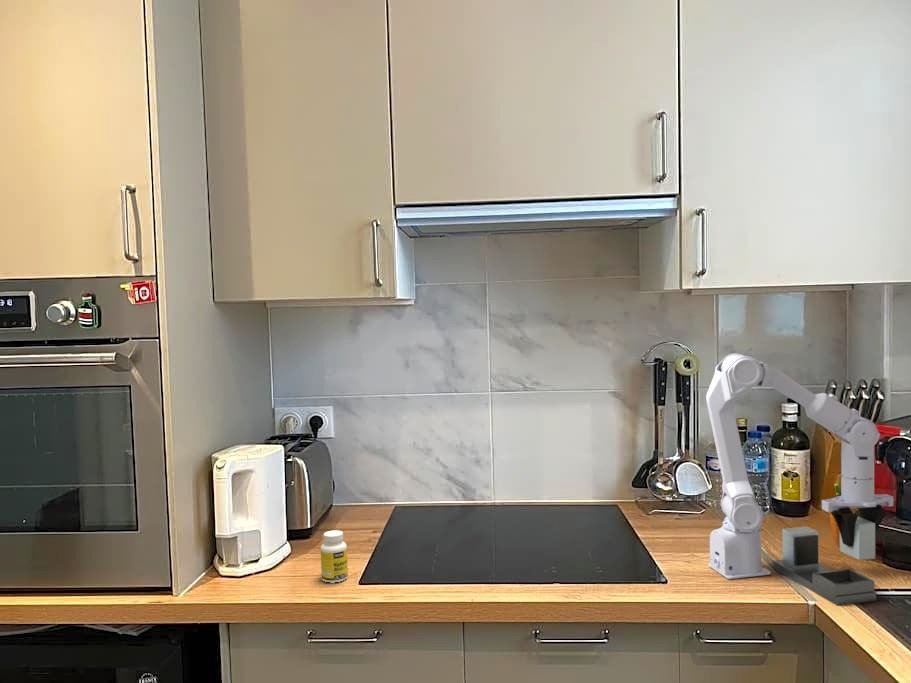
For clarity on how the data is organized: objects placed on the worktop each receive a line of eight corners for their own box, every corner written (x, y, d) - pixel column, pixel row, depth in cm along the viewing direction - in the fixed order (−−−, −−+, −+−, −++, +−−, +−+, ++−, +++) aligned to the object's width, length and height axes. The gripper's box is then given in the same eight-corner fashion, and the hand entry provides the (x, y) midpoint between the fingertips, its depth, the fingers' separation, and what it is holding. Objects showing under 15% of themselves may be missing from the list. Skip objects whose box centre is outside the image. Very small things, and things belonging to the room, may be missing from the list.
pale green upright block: (859, 560, 141) (859, 524, 141) (839, 550, 147) (839, 516, 146) (876, 558, 142) (876, 523, 141) (856, 548, 147) (856, 515, 147)
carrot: (852, 548, 158) (851, 480, 157) (858, 556, 153) (857, 486, 152) (827, 547, 159) (826, 479, 158) (832, 554, 154) (831, 485, 154)
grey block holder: (836, 605, 130) (836, 558, 129) (772, 567, 148) (772, 527, 148) (876, 600, 131) (875, 554, 131) (807, 564, 150) (807, 523, 149)
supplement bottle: (335, 586, 148) (333, 538, 147) (316, 581, 151) (314, 534, 150) (353, 577, 152) (351, 531, 152) (334, 572, 155) (332, 527, 155)
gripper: (838, 484, 138) (839, 553, 139) (905, 478, 141) (905, 547, 141) (814, 475, 145) (814, 542, 146) (878, 470, 148) (878, 535, 148)
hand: (857, 543), depth 144 cm, fingers closed on pale green upright block, 4 cm apart
